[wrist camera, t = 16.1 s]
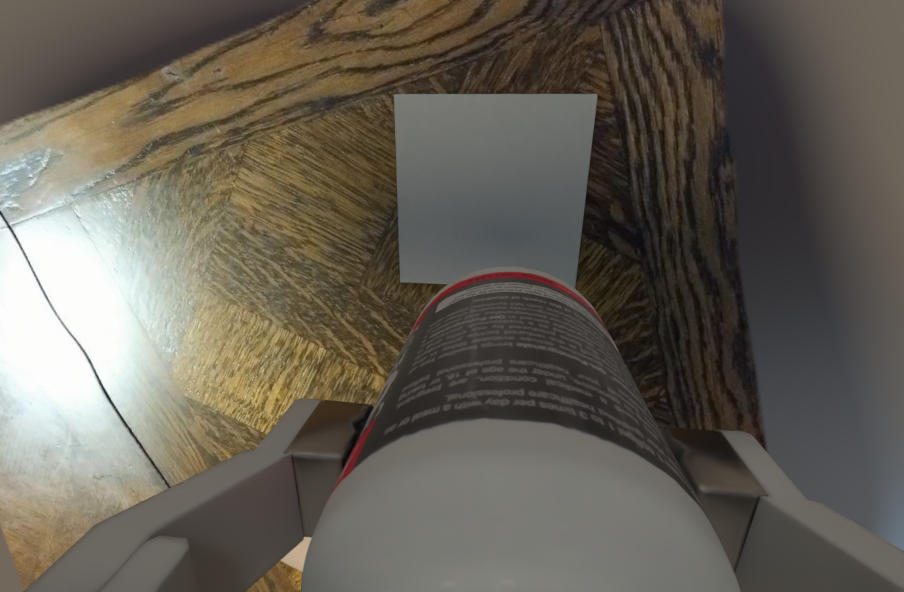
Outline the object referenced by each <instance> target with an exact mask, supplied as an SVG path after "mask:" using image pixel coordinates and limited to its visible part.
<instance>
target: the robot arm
mask: <svg viewBox="0 0 904 592" xmlns="http://www.w3.org/2000/svg"><path fill="white" fill-rule="evenodd" d="M372 410H373V406H372V405H370V404H360V403H349V402H339V401H329V400H324V401H323V400H318V399H304V398H301V399H297V400H295V401H294V402H293V404H292V405H291V406H290V407H289V408H288V410H287V411H286V412H285V413H284V415H283V416H282V417H281V418H280V419H279V421H278V422H277V423H276V424H275V426H274V427H273V428H272V429H271V430H270V432H269V433H268V434H267V435H266V437H265V438H264V439H263V440H262V442H261V443H260V444H259V445H258V446H257V448H256V449H255V450H245V451H243V452H241V453H239V454H237V455H235V456H233V457H231V458H229V459H227V460H225V461H223V462H221V463H219V464H217V465H215V466H213V467H211V468H209V469H207V470H205V471H203V472H201V473H199V474H197V475H195V476H193V477H191V478H189V479H187V480H185V481H183V482H181V483H179V484H177V485H175V486H173V487H171V488H169V489H167V490H164V491H162V492H160V493H158V494H156V495H154V496H152V497H150V498H148V499H146V500H144V501H142V502H140V503H138V504H136V505H134V506H132V507H130V508H128V509H126V510H124V511H122V512H120V513H118V514H116V515H114V516H112V517H110V518H108V519H106V520H104V521H102V522H100V523H98V524H96V525H94V526H93V527H92V528H91V529H90V530H89V531H88V532H87V533H86V534H85V535H84V536H83V537H82V538H81V539H79V540H78V541H77V542H76V543H75V544H74V545H73V546H72V547H71V548H70V549H69V550H68V551H67V552H66V553H64V554H63V555H62V556H61V557H60V558H59V559H58V560H57V561H56V562H55V563H54V564H53V565H52V566H51V567H49V568H48V569H47V570H46V571H45V572H44V573H43V574H42V575H41V576H40V577H39V578H38V579H37V580H36V581H35V582H33V583H32V584H31V585H30V586H29V587H28V588H27V589H26V590H25V591H24V592H245V591H246V590H248V589H249V588H250V587H251V586H252V585H253V584H254V583H255V582H257V581H258V580H259V579H260V578H261V577H262V576H263V575H264V574H266V573H267V572H268V571H269V570H270V569H271V568H272V567H273V566H275V565H276V564H277V563H278V562H279V561H280V560H281V559H283V558H284V557H285V556H286V555H287V554H288V553H289V552H290V551H292V550H293V549H294V548H295V547H296V546H297V545H298V544H299V543H301V542H302V541H303V540H304V537H312V536H313V534H314V531H315V529H316V526H317V524H318V522H319V519H320V517H321V514H322V512H323V510H324V507H325V505H326V502H327V500H328V498H329V496H330V494H331V492H332V491H333V489H334V487H335V485H336V483H337V481H338V479H339V477H340V475H341V473H342V471H343V469H344V467H345V465H346V463H347V461H348V459H349V457H350V454H351V452H352V450H353V448H354V446H355V444H356V442H357V440H358V439H359V437H360V435H361V433H362V431H363V429H364V427H365V425H366V423H367V420H368V418H369V416H370V414H371V412H372ZM659 429H660V431H661V433H662V435H663V437H664V439H665V440H666V442H667V444H668V446H669V448H670V450H671V451H672V453H673V455H674V457H675V459H676V461H677V463H678V464H679V466H680V468H681V470H682V472H683V474H684V475H685V477H686V479H687V480H688V482H689V484H690V486H691V487H692V489H693V491H694V492H695V494H696V496H697V498H698V499H699V501H700V503H701V505H702V507H703V509H704V511H705V513H706V515H707V517H708V518H709V520H710V522H711V524H712V526H713V528H714V530H715V531H716V533H717V535H718V537H719V539H720V541H721V544H722V546H723V549H724V551H725V553H726V555H727V557H728V559H729V562H730V564H731V566H732V569H733V571H734V574H735V576H736V579H737V582H738V584H739V587H740V591H741V592H904V551H903V550H901V549H899V548H897V547H896V546H894V545H892V544H891V543H889V542H887V541H885V540H884V539H882V538H880V537H879V536H877V535H875V534H873V533H872V532H870V531H868V530H866V529H865V528H863V527H861V526H860V525H858V524H856V523H854V522H853V521H851V520H849V519H848V518H846V517H844V516H843V515H841V514H839V513H837V512H836V511H834V510H832V509H830V508H829V507H827V506H825V505H823V504H822V503H820V502H819V501H811V500H807V499H806V498H805V497H804V496H803V494H802V493H801V492H800V491H799V490H798V489H797V487H796V486H795V485H794V484H793V483H792V482H791V480H790V479H789V478H788V477H787V476H786V474H785V473H784V472H783V471H782V470H781V469H780V467H779V466H778V465H777V464H776V463H775V462H774V460H773V459H772V458H771V457H770V456H769V454H768V453H767V452H766V451H765V450H764V449H763V447H762V446H761V445H760V444H759V443H758V442H757V440H756V439H755V438H754V437H753V436H752V435H751V434H749V433H747V432H745V431H730V430H699V429H683V428H667V427H659Z"/></svg>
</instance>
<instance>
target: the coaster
mask: <svg viewBox="0 0 904 592" xmlns="http://www.w3.org/2000/svg"><path fill="white" fill-rule="evenodd" d="M597 96H598V95H597V94H394V113H395V143H396V173H397V202H398V232H399V262H400V282H405V283H426V284H447V285H448V284H449V283H451V282H452V281H454V280H456V279H458V278H460V277H462V276H464V275H467V274H469V273H472V272H474V271H478V270H482V269H487V268H492V267H507V266H516V267H525V268H529V269H533V270H537V271H541V272H545V273H548V274H550V275H552V276H554V277H556V278H558V279H560V280H561V281H563V282H565V283H567V284H568V285H570V286H571V287H573V288H574V289H575V286H576V277H577V268H578V260H579V251H580V243H581V234H582V225H583V217H584V208H585V199H586V191H587V182H588V174H589V165H590V156H591V148H592V139H593V131H594V122H595V113H596V105H597Z"/></svg>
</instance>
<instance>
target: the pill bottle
mask: <svg viewBox="0 0 904 592" xmlns="http://www.w3.org/2000/svg"><path fill="white" fill-rule="evenodd" d="M301 592H741V591H740V587H739V584H738V582H737V579H736V576H735V574H734V571H733V569H732V566H731V564H730V562H729V559H728V557H727V555H726V553H725V551H724V549H723V546H722V544H721V541H720V539H719V537H718V535H717V533H716V531H715V530H714V528H713V526H712V524H711V522H710V520H709V518H708V517H707V515H706V513H705V511H704V509H703V507H702V505H701V503H700V501H699V499H698V498H697V496H696V494H695V492H694V491H693V489H692V487H691V486H690V484H689V482H688V480H687V479H686V477H685V475H684V474H683V472H682V470H681V468H680V466H679V464H678V463H677V461H676V459H675V457H674V455H673V453H672V451H671V450H670V448H669V446H668V444H667V442H666V440H665V439H664V437H663V435H662V433H661V431H660V429H659V427H658V426H657V424H656V422H655V420H654V418H653V417H652V415H651V413H650V411H649V409H648V407H647V405H646V403H645V401H644V399H643V397H642V396H641V394H640V392H639V390H638V388H637V386H636V384H635V382H634V380H633V378H632V376H631V374H630V372H629V370H628V368H627V367H626V365H625V363H624V361H623V359H622V357H621V355H620V353H619V351H618V349H617V347H616V345H615V343H614V341H613V339H612V337H611V336H610V334H609V332H608V330H607V329H606V327H605V325H604V324H603V322H602V320H601V319H600V317H599V315H598V314H597V312H596V311H595V309H594V308H593V306H592V305H591V304H590V303H589V302H588V301H587V300H586V299H585V298H584V297H583V296H582V295H581V294H580V293H579V292H578V291H577V290H575V289H574V288H573V287H571V286H570V285H568V284H567V283H565V282H563V281H561V280H560V279H558V278H556V277H554V276H552V275H550V274H548V273H545V272H541V271H537V270H533V269H529V268H525V267H516V266H507V267H492V268H487V269H482V270H478V271H474V272H472V273H469V274H467V275H464V276H462V277H460V278H458V279H456V280H454V281H452V282H451V283H449V284H448V285H446V286H445V287H444V288H443V289H441V290H440V291H439V292H438V293H437V294H436V295H435V296H433V297H432V298H431V300H430V301H429V302H428V303H427V305H426V306H425V308H424V309H423V311H422V312H421V314H420V315H419V317H418V319H417V321H416V323H415V325H414V326H413V328H412V330H411V332H410V334H409V336H408V338H407V340H406V342H405V344H404V346H403V348H402V350H401V353H400V355H399V356H398V358H397V360H396V363H395V365H394V367H393V369H392V370H391V372H390V374H389V375H388V378H387V381H386V384H385V386H384V388H383V390H382V392H381V394H380V396H379V398H378V400H377V402H376V404H375V406H374V408H373V410H372V412H371V414H370V416H369V418H368V420H367V423H366V425H365V427H364V429H363V431H362V433H361V435H360V437H359V439H358V440H357V442H356V444H355V446H354V448H353V450H352V452H351V454H350V457H349V459H348V461H347V463H346V465H345V467H344V469H343V471H342V473H341V475H340V477H339V479H338V481H337V483H336V485H335V487H334V489H333V491H332V492H331V494H330V496H329V498H328V500H327V502H326V505H325V507H324V510H323V512H322V514H321V517H320V519H319V522H318V524H317V526H316V529H315V531H314V534H313V536H312V538H311V541H310V544H309V547H308V551H307V554H306V558H305V562H304V567H303V573H302V583H301Z"/></svg>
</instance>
